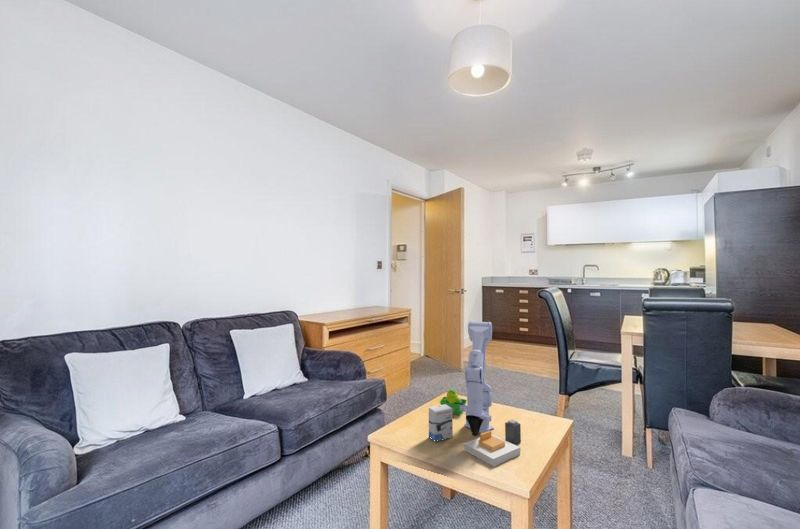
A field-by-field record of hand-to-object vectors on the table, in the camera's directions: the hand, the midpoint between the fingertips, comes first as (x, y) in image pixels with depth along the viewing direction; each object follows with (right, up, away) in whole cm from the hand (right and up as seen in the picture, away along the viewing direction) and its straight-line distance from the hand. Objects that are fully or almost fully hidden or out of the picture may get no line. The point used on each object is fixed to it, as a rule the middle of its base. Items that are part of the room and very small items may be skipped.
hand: (475, 434), depth 141 cm
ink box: (-12, -4, +6) cm, 14 cm away
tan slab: (+5, -1, -7) cm, 8 cm away
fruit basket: (-4, -4, +32) cm, 33 cm away
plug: (+15, -3, +2) cm, 15 cm away
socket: (+5, -3, -7) cm, 9 cm away
